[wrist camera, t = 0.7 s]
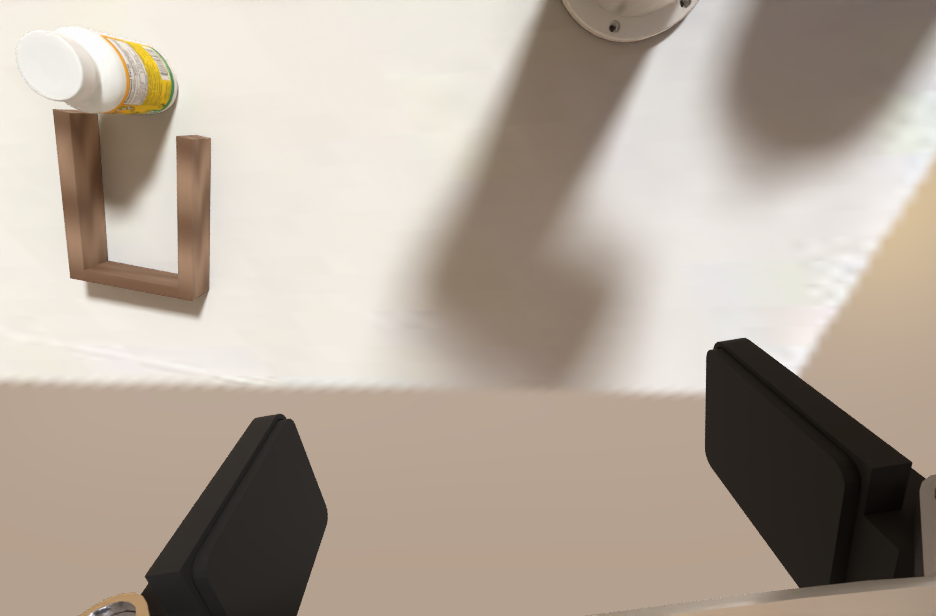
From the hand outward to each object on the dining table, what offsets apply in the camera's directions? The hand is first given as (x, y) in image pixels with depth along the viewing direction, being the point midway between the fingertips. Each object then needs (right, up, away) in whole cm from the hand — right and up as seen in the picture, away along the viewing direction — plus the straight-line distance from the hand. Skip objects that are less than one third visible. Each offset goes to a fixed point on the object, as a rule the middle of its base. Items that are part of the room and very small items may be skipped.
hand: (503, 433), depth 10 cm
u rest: (-29, +12, +31) cm, 44 cm away
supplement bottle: (-27, +22, +28) cm, 44 cm away
